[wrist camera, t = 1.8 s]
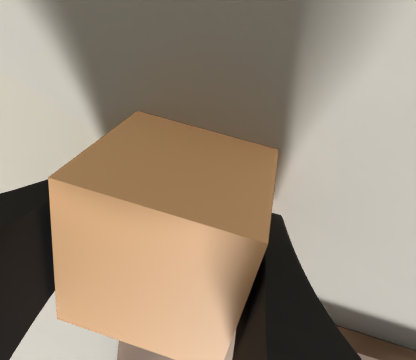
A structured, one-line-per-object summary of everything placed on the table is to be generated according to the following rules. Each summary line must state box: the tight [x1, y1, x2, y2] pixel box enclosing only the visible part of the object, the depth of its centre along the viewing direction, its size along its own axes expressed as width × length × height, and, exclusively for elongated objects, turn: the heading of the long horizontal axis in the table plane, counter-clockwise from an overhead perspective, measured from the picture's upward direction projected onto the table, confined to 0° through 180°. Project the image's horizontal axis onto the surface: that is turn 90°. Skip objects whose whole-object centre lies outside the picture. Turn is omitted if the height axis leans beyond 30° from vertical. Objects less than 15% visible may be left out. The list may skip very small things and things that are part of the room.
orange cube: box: [48, 111, 279, 360], centre depth 11 cm, size 5×5×5 cm
